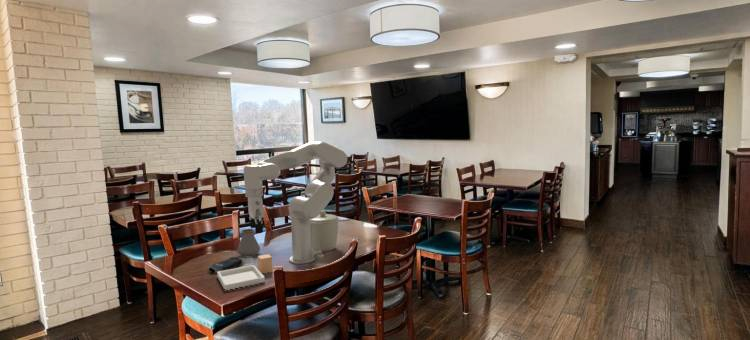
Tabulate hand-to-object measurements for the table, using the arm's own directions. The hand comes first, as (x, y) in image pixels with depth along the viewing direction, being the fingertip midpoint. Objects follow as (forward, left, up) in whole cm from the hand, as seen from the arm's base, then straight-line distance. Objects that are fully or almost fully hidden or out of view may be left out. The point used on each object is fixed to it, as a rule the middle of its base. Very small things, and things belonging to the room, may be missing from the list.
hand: (256, 230), depth 181 cm
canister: (-39, -16, -20) cm, 46 cm away
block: (-3, +1, -20) cm, 20 cm away
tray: (+9, +6, -19) cm, 22 cm away
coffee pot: (-7, -30, -20) cm, 37 cm away
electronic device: (+12, -14, -20) cm, 27 cm away
